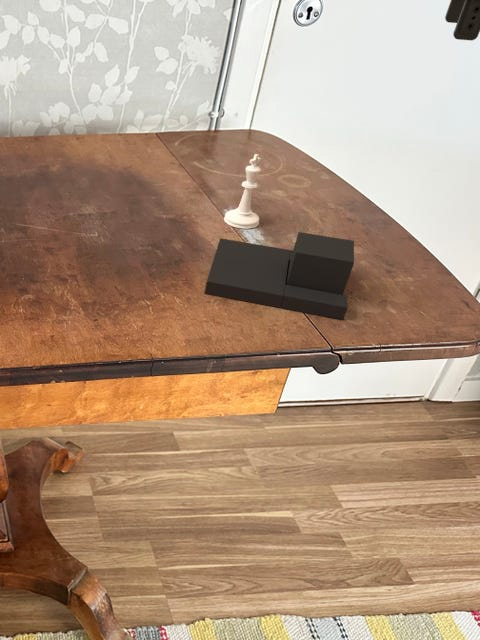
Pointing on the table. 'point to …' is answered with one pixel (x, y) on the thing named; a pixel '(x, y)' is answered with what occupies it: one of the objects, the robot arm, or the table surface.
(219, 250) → the base pad
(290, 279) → the pad piece
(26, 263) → the table surface
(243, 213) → the chess piece
